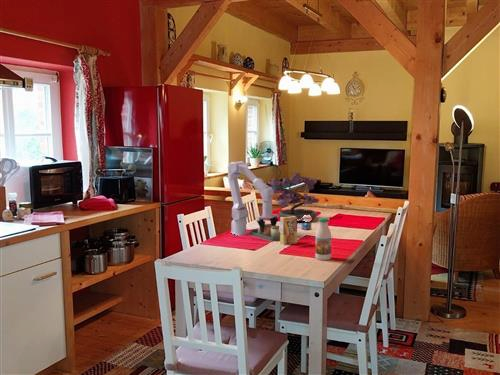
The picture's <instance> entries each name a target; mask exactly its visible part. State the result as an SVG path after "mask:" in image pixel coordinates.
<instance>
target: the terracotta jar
mask: <svg viewBox="0 0 500 375" xmlns="http://www.w3.org/2000/svg"><path fill="white" fill-rule="evenodd" d="M271 226H272V224H271V223H265V225H264V235H266V236H269V237H271Z"/></svg>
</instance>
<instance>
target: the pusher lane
mask: <svg viewBox="0 0 500 375" xmlns="http://www.w3.org/2000/svg"><path fill="white" fill-rule="evenodd" d="M258 228H259V227H257V228H253V229H249V230H250V233H249V236H251V237H255V238H258V239H261V240H264V241H268V242H277V241H280V233H279V234H277V235H272V237H269V236H266V235H262V234H258Z"/></svg>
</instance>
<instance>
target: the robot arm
mask: <svg viewBox="0 0 500 375" xmlns="http://www.w3.org/2000/svg"><path fill="white" fill-rule="evenodd" d="M227 169H228V171H227V179H228V183H229V184H228V185H229V188H230V193H231V199H232V203H233V206H232V207H231V217H232V221H231V222H230V223H231V224H230V225H231V227H230V228H231V231H230V234H231V233H232V234H231V235H234V234H235V236H237V235H238V236H244V235H250V233H248V232H247V217H248V216H249V210H248V209H247V206H246V205H245V203H243V198H242V194H241V189H240V184H239V180H238V178H239V176H240V174H243V175H245V177H247V178H248V179H249V180H250V181H251V182H252V186H253V187H254V189H255V188H256V190H257V191H258V192H259V193H260V197H261V199H262V215H259V216H256V222H257V224H258V226H259V228H260V230H261V232H264V225H265V224H266V221H265V220H269V221H270V224H272V226H277V223H278V221H279V213H273V196H274V195H275V194H274V190H273V189H274V188H273V187H272V186H269V184H266V183H265V182H264V179H263V178H259V177H257V176H256V175H255V173H253V171H251V169H250V168H249V167H248V165H247V164H246V163H245V162H244V161H243V160H240V161H232V162H230V163H229V165H228V166H227ZM238 236H237V237H238Z"/></svg>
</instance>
